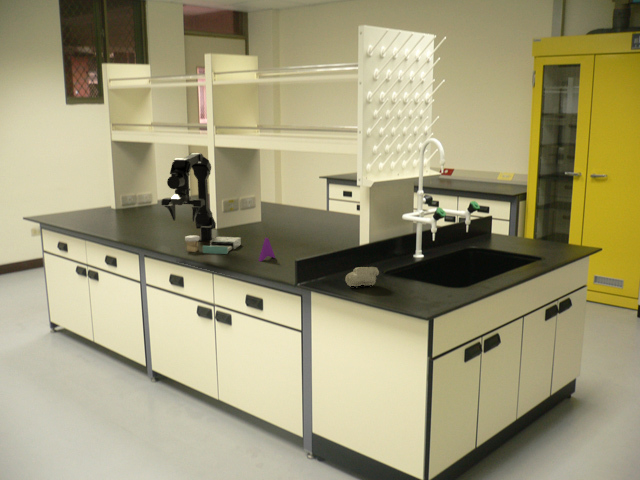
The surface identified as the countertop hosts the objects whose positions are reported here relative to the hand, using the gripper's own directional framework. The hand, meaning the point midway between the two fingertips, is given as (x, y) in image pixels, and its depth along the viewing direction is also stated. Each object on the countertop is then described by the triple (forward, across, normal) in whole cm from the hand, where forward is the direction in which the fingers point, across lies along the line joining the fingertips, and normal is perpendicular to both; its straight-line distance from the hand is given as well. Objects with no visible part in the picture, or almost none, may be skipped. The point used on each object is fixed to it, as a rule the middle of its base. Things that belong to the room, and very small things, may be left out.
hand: (183, 221), depth 274 cm
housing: (+15, +14, +16) cm, 26 cm away
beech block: (+15, +2, +4) cm, 15 cm away
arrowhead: (+15, +40, -5) cm, 43 cm away
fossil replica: (+15, +85, -40) cm, 95 cm away
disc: (+10, +2, +4) cm, 11 cm away
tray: (+15, +14, +7) cm, 21 cm away
